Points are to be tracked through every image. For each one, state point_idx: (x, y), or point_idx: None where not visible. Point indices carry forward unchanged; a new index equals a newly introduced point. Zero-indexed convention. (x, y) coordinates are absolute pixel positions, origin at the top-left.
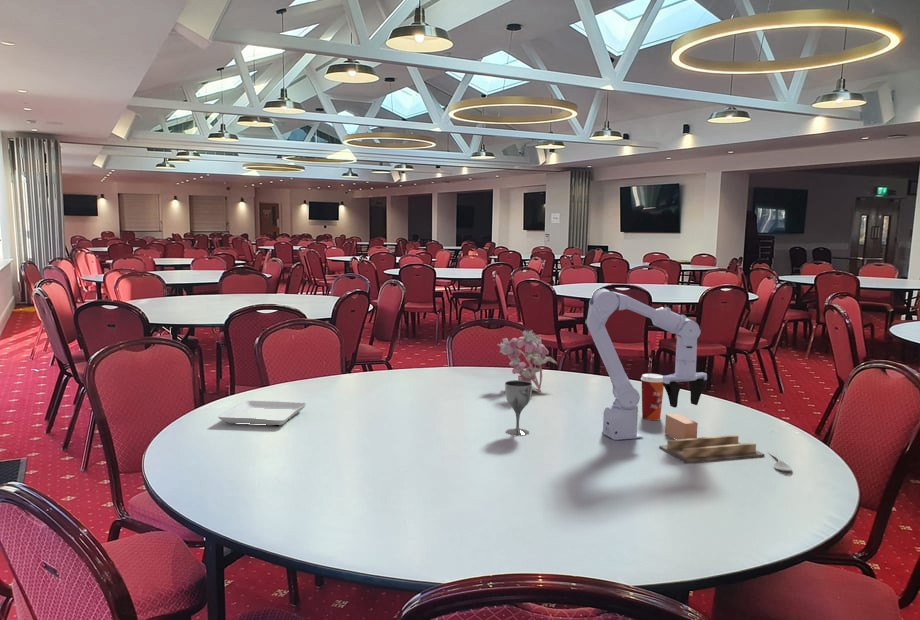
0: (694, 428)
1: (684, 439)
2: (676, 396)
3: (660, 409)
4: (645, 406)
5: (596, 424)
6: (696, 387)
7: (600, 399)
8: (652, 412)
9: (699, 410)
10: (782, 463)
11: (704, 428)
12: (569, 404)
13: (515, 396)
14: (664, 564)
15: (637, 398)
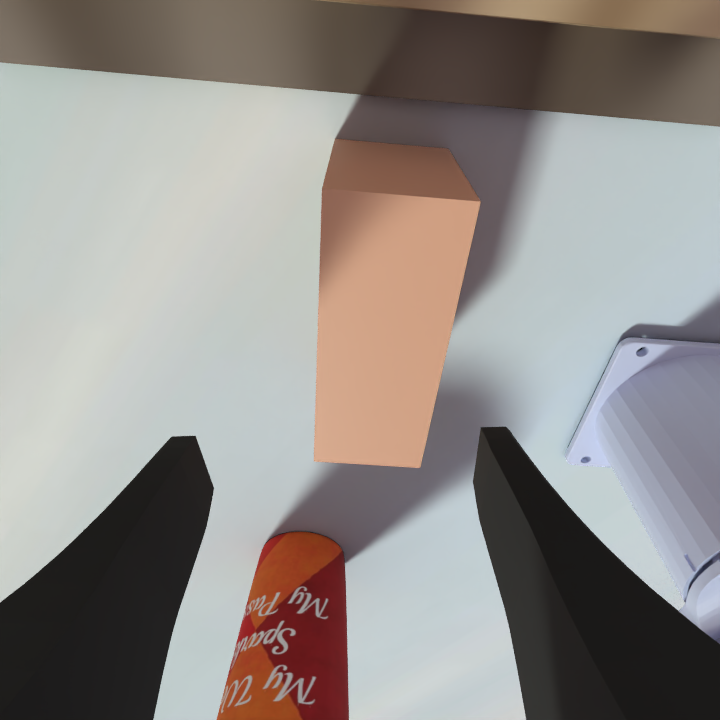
0: (359, 174)
1: (612, 1)
2: (567, 539)
3: (267, 583)
4: (344, 615)
5: (624, 548)
6: (94, 682)
7: (354, 703)
8: (319, 571)
9: (4, 575)
10: None
11: (99, 380)
12: (502, 693)
13: None
14: None
15: None
